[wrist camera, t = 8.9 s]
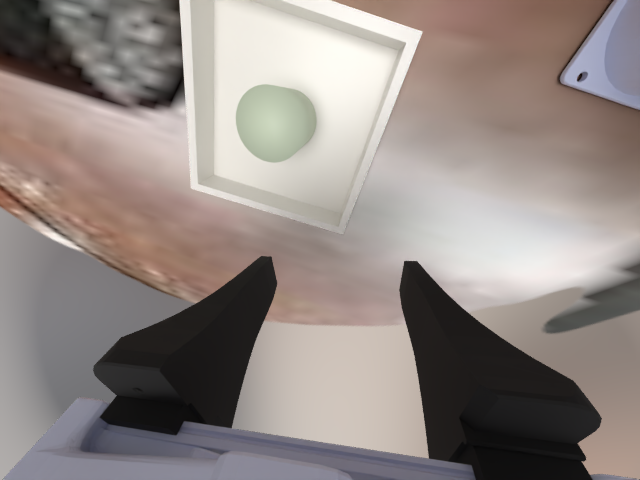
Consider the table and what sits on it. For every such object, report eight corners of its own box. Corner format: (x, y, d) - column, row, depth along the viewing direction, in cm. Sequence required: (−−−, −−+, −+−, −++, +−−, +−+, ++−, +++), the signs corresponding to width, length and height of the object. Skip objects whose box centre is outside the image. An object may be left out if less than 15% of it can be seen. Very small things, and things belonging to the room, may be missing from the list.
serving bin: (411, 42, 14) (422, 31, 12) (344, 218, 22) (342, 235, 19) (208, -26, 14) (176, -52, 11) (210, 177, 21) (190, 188, 19)
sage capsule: (323, 100, 16) (312, 99, 12) (308, 155, 18) (294, 171, 14) (270, 79, 16) (239, 72, 12) (261, 138, 18) (232, 149, 14)
